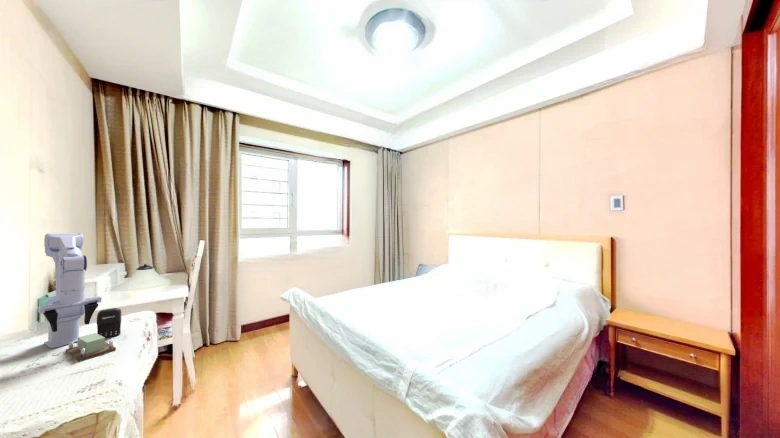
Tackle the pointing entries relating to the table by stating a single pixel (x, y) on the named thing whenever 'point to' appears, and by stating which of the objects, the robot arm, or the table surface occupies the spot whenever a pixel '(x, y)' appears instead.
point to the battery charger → (109, 322)
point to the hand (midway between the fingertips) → (71, 327)
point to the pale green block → (91, 343)
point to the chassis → (82, 355)
